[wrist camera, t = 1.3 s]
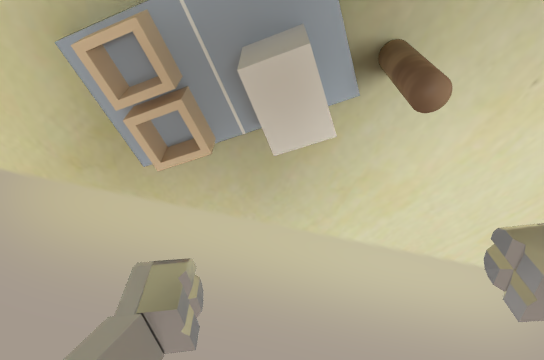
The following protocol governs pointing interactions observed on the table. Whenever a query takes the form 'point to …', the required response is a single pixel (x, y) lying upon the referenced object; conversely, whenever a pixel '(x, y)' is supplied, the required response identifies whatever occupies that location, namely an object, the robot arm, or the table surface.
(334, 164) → the table surface
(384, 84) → the table surface
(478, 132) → the table surface
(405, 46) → the pin
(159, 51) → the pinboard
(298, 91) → the cover
